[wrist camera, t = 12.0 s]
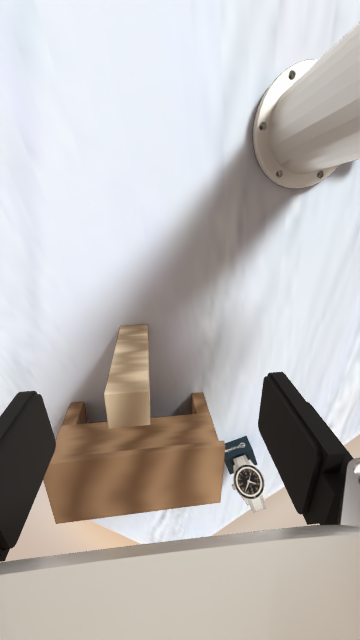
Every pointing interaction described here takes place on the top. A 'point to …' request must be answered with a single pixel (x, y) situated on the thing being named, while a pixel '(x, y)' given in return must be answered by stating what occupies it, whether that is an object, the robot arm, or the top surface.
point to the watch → (245, 473)
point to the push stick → (129, 379)
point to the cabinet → (134, 465)
